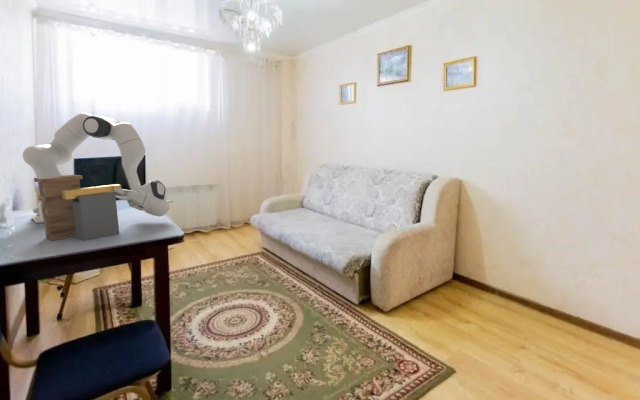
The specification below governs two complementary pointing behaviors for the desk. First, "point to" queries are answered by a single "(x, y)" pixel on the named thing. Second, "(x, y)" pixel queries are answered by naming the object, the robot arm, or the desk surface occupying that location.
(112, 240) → the desk surface
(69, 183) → the stand
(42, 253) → the desk surface
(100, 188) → the wooden block
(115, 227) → the cradle
